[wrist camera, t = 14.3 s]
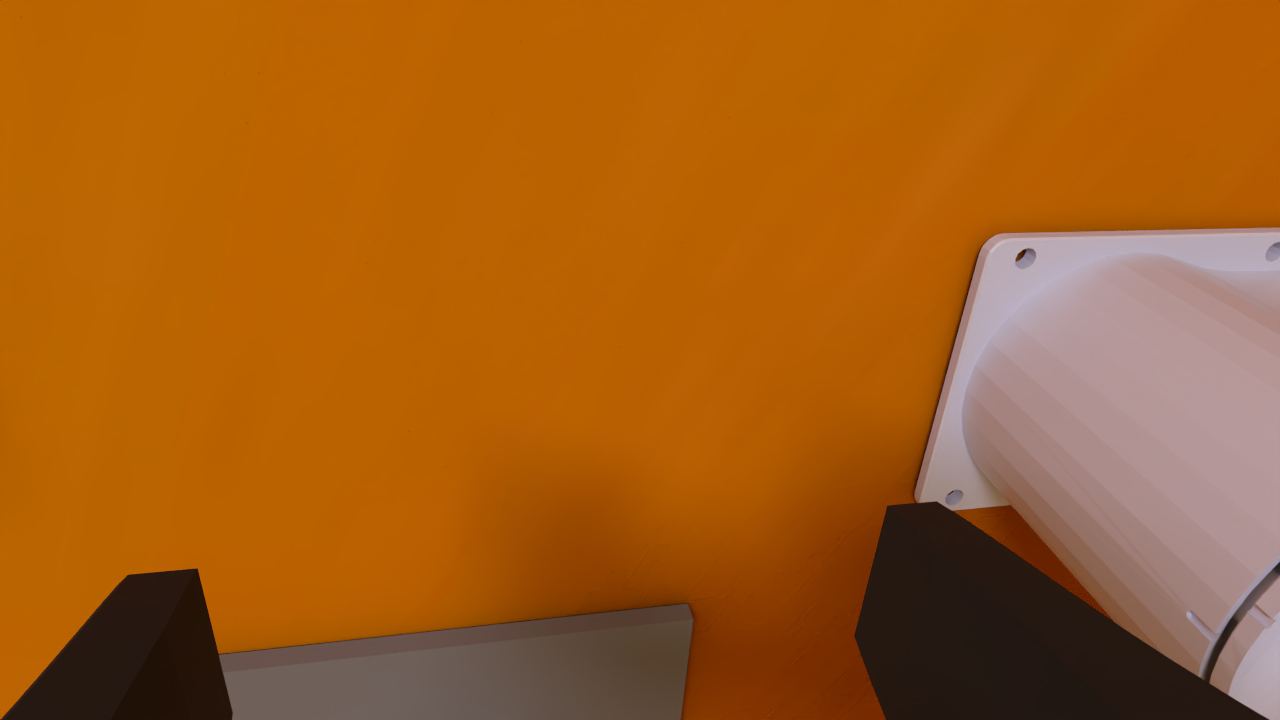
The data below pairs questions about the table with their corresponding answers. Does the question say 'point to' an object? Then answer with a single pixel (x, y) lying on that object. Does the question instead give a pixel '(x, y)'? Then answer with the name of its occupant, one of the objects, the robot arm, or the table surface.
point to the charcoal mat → (478, 672)
